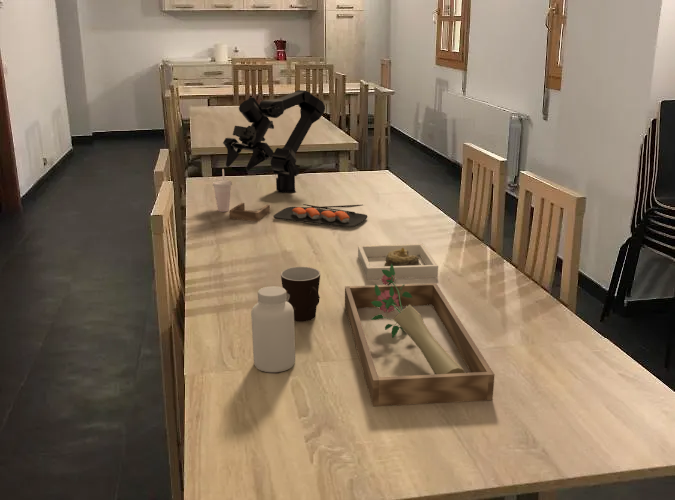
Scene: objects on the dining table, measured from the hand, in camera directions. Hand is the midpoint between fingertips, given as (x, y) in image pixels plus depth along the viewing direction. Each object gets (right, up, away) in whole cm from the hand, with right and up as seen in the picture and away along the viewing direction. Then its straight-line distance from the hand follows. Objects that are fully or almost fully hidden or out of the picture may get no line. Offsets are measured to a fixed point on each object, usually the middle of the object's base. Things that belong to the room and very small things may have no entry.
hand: (236, 168), depth 241 cm
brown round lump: (+51, -32, -53) cm, 80 cm away
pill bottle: (+22, -50, -105) cm, 118 cm away
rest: (+6, -17, -8) cm, 19 cm away
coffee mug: (+26, -43, -85) cm, 99 cm away
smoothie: (-4, -14, -1) cm, 15 cm away
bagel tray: (+50, -32, -53) cm, 80 cm away
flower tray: (+48, -47, -98) cm, 119 cm away
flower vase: (+49, -48, -99) cm, 120 cm away
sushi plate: (+32, -16, -5) cm, 36 cm away
